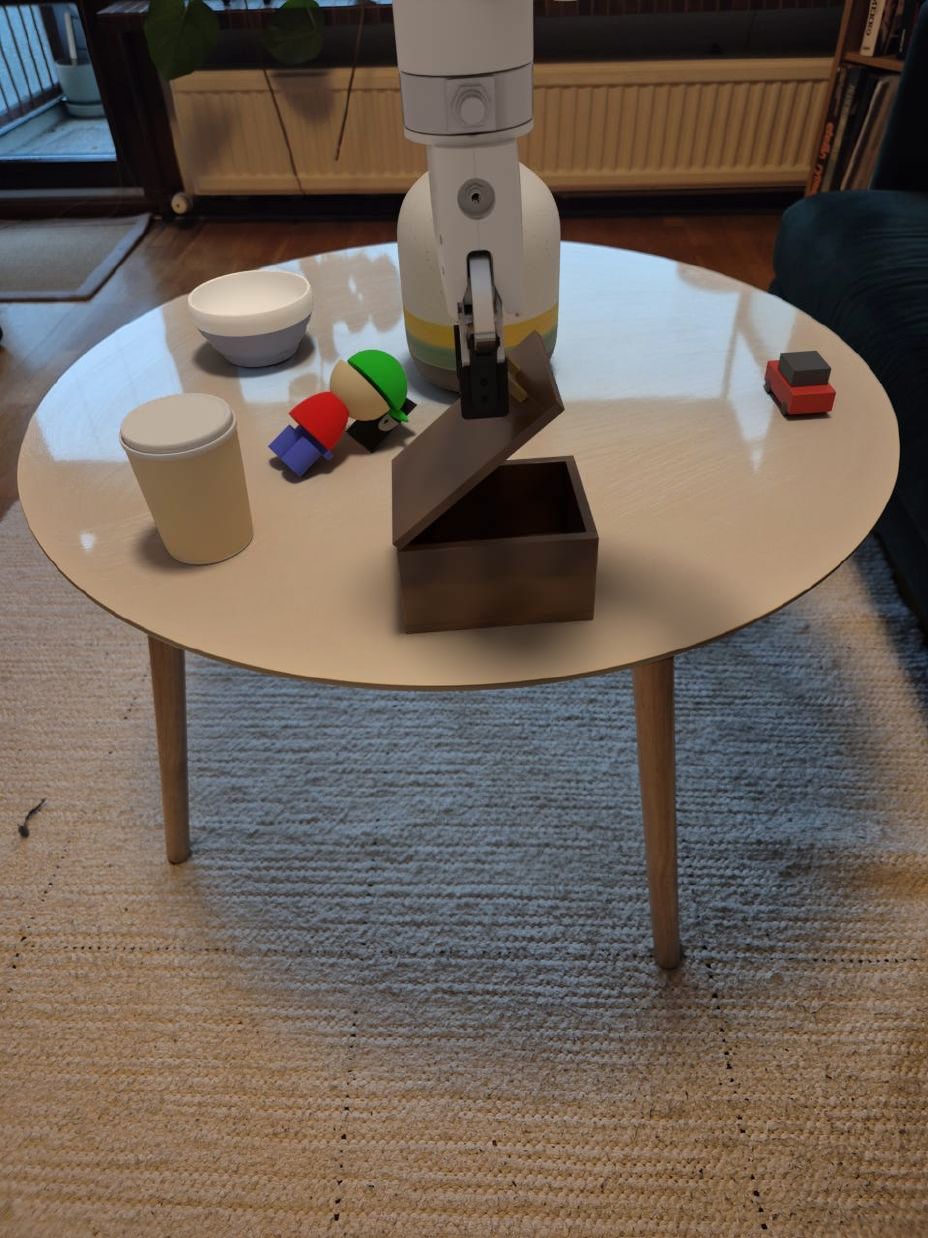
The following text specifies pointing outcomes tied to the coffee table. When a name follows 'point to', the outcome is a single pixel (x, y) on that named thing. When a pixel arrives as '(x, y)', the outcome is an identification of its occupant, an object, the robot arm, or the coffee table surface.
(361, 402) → the toy
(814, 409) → the car
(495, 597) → the chest
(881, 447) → the coffee table surface
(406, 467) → the lid
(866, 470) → the coffee table surface
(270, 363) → the bowl
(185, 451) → the coffee cup
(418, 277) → the vase
